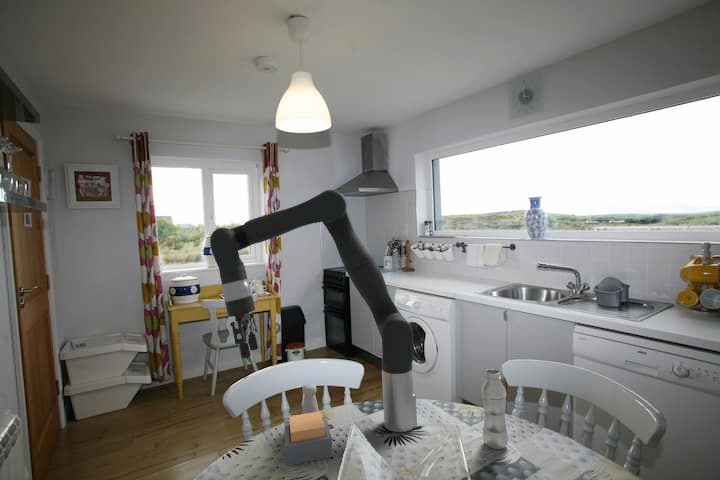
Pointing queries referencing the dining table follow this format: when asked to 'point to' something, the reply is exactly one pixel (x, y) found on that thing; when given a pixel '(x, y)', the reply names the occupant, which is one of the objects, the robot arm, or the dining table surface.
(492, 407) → the plastic bottle
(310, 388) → the salt shaker
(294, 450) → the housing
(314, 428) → the orange block
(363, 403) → the dining table surface
